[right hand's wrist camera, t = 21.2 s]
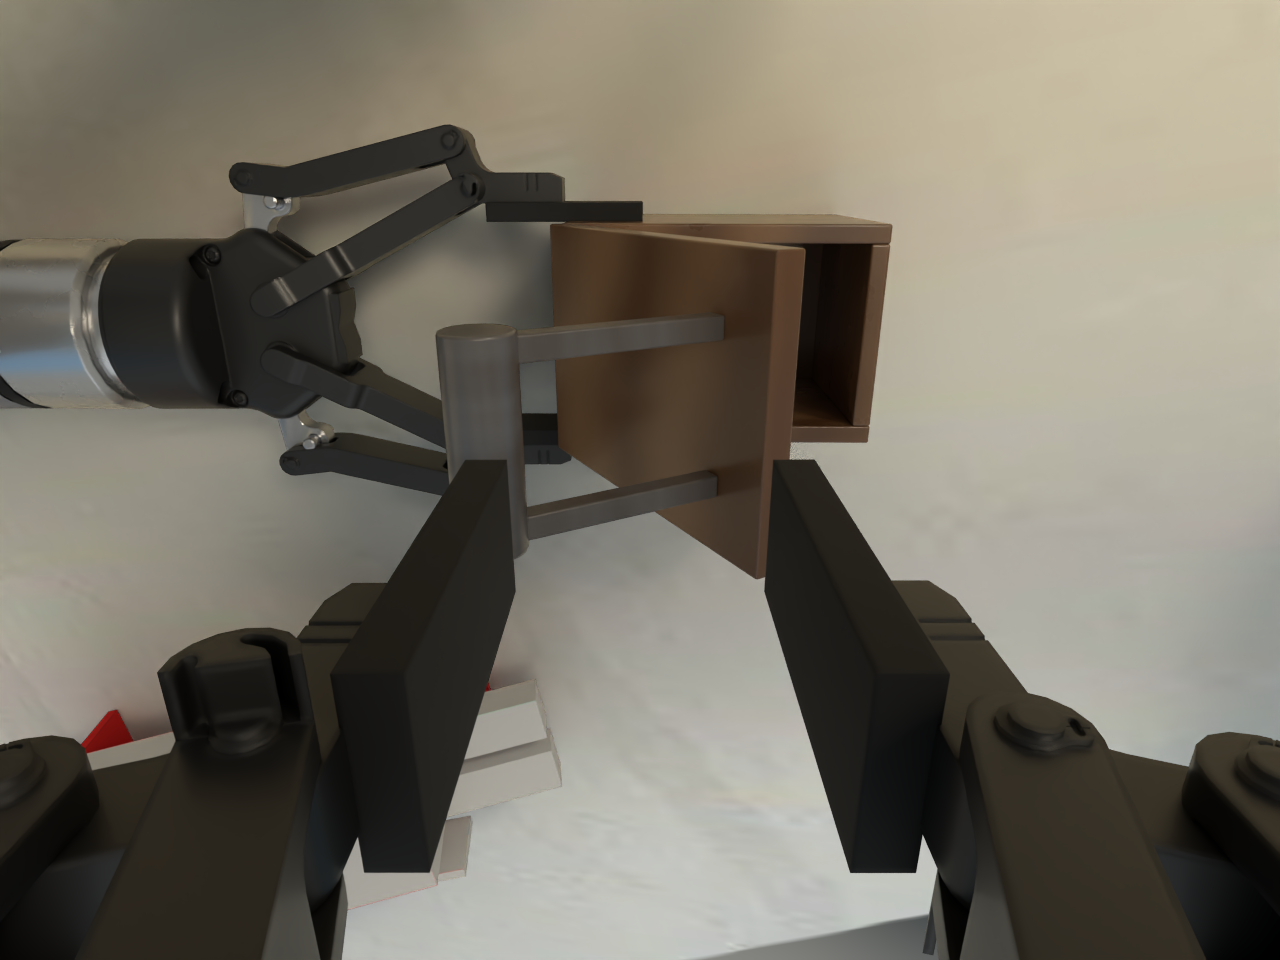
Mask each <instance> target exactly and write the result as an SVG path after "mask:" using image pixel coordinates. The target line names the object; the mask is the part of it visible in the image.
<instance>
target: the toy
mask: <svg viewBox="0 0 1280 960" xmlns="http://www.w3.org/2000/svg"><path fill="white" fill-rule="evenodd" d="M174 743H175V738H174V734H173V731H172V732H168V733H165V734H161V735H157V736H153V737H149V738H145V739H141V740H137V741H133V739H132V737H131V735H130V733H129V732H128V730H127V728H126V726H125V724H124V722H123V721H122V719H121V717H120V715H119V713H118V711H117V710H114V711H110V712H108V713H107V714H106V715H105V716H104V718H103V719H102V720H101V721H100V722H99V724H98V725H97V726H96V727H95V728H94V730H93V731H92V732H91V733H90V734H89V736H88V737H87V738H86V739H85V740H84V742H83V743H82V744H81V745H82V746H83V747H84V748H85V750H86V753H87V756H88V759H89V762H90V765H91V768H92V770H96V769H100V768H105V767H110V766H115V765H120V764H124V763H129V762H134V761H139V760H143V759H148V758H153V757H157V756H160V755H164V754H168V753H170V752H171V750H172V747H173V745H174ZM561 786H562V779H561V764H560V759H559V756H558V753H557V749H556V746H555V743H554V740H553V736H552V733H551V730H550V728H548V729H547V723H546V713H545V710H544V706H543V703H542V700H541V696H540V693H539V690H538V687H537V683H536V680H535V679H533V680H529V681H525V682H522V683H518V684H514V685H510V686H506V687H502V688H498V689H495V690H491V689H490V686H489V683H487V687H486V690H485V693H484V697H483V700H482V703H481V706H480V710H479V713H478V716H477V719H476V723H475V726H474V729H473V733H472V736H471V739H470V742H469V746H468V749H467V752H466V755H465V759H464V762H463V765H462V769H461V772H460V775H459V778H458V782H457V785H456V788H455V792H454V795H453V798H452V801H451V805H450V808H449V811H448V814H447V817H450V816H454V815H457V814H461V813H465V812H469V811H472V810H476V809H480V808H483V807H487V806H491V805H494V804H498V803H502V802H506V801H509V800H513V799H517V798H520V797H524V796H528V795H532V794H535V793H539V792H543V791H546V790H550V789H554V788H558V787H561ZM472 823H473V822H472V818H471V816H466V817H461V818H455V819H450V820H446V821H445V824H444V828H443V831H442V834H441V837H440V841H439V844H438V847H437V851H436V854H435V857H434V860H433V864H432V867H431V870H430V873H364V870H363V864H362V858H361V852H360V846H359V841H358V838H357V840H356V842H355V845H354V847H353V849H352V852H351V854H350V856H349V859H348V861H347V863H346V866H345V868H344V870H343V875H344V880H345V885H346V892H347V899H348V909H347V910H349V909H353V908H357V907H360V906H364V905H368V904H371V903H375V902H378V901H382V900H386V899H389V898H393V897H397V896H400V895H404V894H407V893H411V892H415V891H418V890H422V889H426V888H429V887H433V886H437V885H438V882H439V881H444V880H449V879H455V878H460V877H465V876H466V870H467V862H468V854H469V847H470V839H471V831H472Z"/></svg>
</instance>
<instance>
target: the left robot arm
mask: <svg viewBox="0 0 1280 960" xmlns="http://www.w3.org/2000/svg"><path fill="white" fill-rule="evenodd" d="M442 164H446V166H447V168H448V170H449V173H450V175H451V178H452V180H450V181H448V182H447V183H445V184H443V185H441V186H440V187H438V188H436V189H434V190H433V191H431V192H429V193H427V194H426V195H424V196H422V197H420V198H419V199H417V200H415V201H414V202H412V203H410V204H408V205H407V206H405V207H403V208H401V209H400V210H398V211H396V212H394V213H393V214H391V215H389V216H387V217H386V218H384V219H382V220H380V221H379V222H377V223H375V224H374V225H372V226H370V227H368V228H367V229H365V230H363V231H361V232H360V233H358V234H356V235H354V236H353V237H351V238H349V239H347V240H346V241H344V242H342V243H340V244H339V245H337V246H335V247H332V248H330V249H328V250H326V251H324V252H322V253H320V254H319V255H317V256H315V255H313V254H312V253H310V252H309V251H307V250H306V249H304V248H303V247H302V246H300V245H299V244H297V243H296V242H294V241H293V240H291V239H290V238H288V237H287V236H285V235H284V234H282V233H281V232H279V231H277V224H278V222H279V220H280V219H281V218H282V217H284V216H289V215H293V214H295V213H296V212H297V211H298V210H299V208H300V197H314V196H322V195H327V194H331V193H335V192H339V191H343V190H347V189H350V188H354V187H358V186H362V185H366V184H370V183H373V182H377V181H381V180H385V179H389V178H392V177H396V176H400V175H404V174H408V173H412V172H415V171H419V170H423V169H427V168H431V167H434V166H438V165H442ZM229 179H230V183H231V184H232V186H233V187H234V188H235V189H236V190H237V191H239V192H241V193H242V195H243V210H244V226H245V229H243V230H240V231H238V232H237V233H236V234H234V235H233V236H231V237H229V238H226V239H137V240H133V241H131V242H126V241H124V240H121V239H24V240H7V241H0V408H90V409H141V408H145V407H149V406H152V407H156V408H163V409H235V408H250V409H255V410H258V411H261V412H263V413H265V414H267V415H269V416H271V417H274V418H278V421H279V425H280V428H281V431H282V435H283V438H284V442H285V445H286V448H287V451H286V452H285V453H284V454H283V455H282V456H281V457H280V460H279V461H280V466H281V468H282V470H283V471H285V472H286V473H287V474H290V475H304V474H313V473H322V472H335V473H340V474H344V475H349V476H354V477H358V478H363V479H367V480H372V481H377V482H381V483H386V484H391V485H395V486H400V487H405V488H409V489H414V490H419V491H423V492H428V493H433V494H437V495H442V496H443V494H444V493H445V491H446V489H447V488H448V486H449V474H448V464H447V453H442V452H438V451H433V450H428V449H424V448H419V447H415V446H410V445H406V444H401V443H397V442H392V441H388V440H383V439H378V438H374V437H369V436H365V435H360V434H354V433H334V429H333V427H332V426H331V425H329V424H326V423H322V422H316V421H314V420H312V419H311V418H310V417H309V416H308V415H307V413H306V410H305V409H307V408H308V407H309V406H311V405H312V404H313V403H315V402H316V401H317V400H318V399H320V398H321V397H325V398H327V399H329V400H331V401H333V402H335V403H338V404H340V405H342V406H344V407H347V408H355V409H361V410H363V411H365V412H367V413H370V414H372V415H374V416H376V417H378V418H380V419H383V420H385V421H387V422H389V423H391V424H393V425H395V426H398V427H400V428H402V429H404V430H406V431H408V432H411V433H413V434H415V435H417V436H419V437H421V438H424V439H426V440H428V441H430V442H432V443H434V444H437V445H439V446H441V447H443V448H445V449H446V442H445V432H444V421H443V410H442V401H441V400H439V399H437V398H435V397H433V396H431V395H429V394H427V393H424V392H422V391H420V390H418V389H416V388H414V387H412V386H410V385H408V384H405V383H403V382H401V381H399V380H397V379H395V378H393V377H391V376H389V375H387V374H385V373H384V372H383V371H382V369H380V368H379V367H377V366H376V365H373V364H371V363H369V362H367V361H365V360H363V359H361V358H359V357H360V356H361V355H363V354H362V346H361V339H360V336H359V334H358V331H357V329H356V326H355V324H354V317H355V309H356V300H355V292H354V288H349V285H348V283H347V282H346V281H347V280H349V279H351V278H352V277H354V276H356V275H358V274H359V273H361V272H363V271H365V270H366V269H368V268H370V267H371V266H372V265H374V264H376V263H377V262H379V261H381V260H383V259H384V258H386V257H388V256H390V255H392V254H393V253H395V252H397V251H399V250H400V249H402V248H404V247H406V246H407V245H409V244H411V243H413V242H415V241H416V240H418V239H420V238H422V237H423V236H425V235H427V234H429V233H430V232H432V231H434V230H436V229H438V228H439V227H441V226H443V225H445V224H446V223H448V222H450V221H452V220H453V219H455V218H457V217H459V216H461V215H462V214H464V213H466V212H468V211H469V210H471V209H473V208H475V207H476V206H478V205H480V204H482V203H485V204H486V219H487V222H567V221H643V202H642V201H565V178H563V177H561V176H558V175H556V174H554V173H495V172H492V171H490V170H489V169H487V168H486V167H485V166H484V165H483V163H482V161H481V159H480V156H479V154H478V152H477V149H476V147H475V140H474V137H473V135H472V134H471V133H470V132H469V131H467V130H465V129H462V128H459V127H456V126H453V125H442V126H438V127H435V128H431V129H427V130H423V131H420V132H416V133H412V134H408V135H405V136H401V137H397V138H393V139H389V140H386V141H382V142H378V143H374V144H371V145H367V146H363V147H359V148H356V149H352V150H348V151H344V152H341V153H337V154H333V155H329V156H326V157H322V158H318V159H314V160H311V161H307V162H303V163H299V164H296V165H292V166H283V165H275V164H263V163H245V162H241V163H236V164H234V165H233V166H232V167H231V169H230V171H229ZM522 427H523V445H524V463H525V464H562V463H565V462H568V461H570V460H571V458H572V456H571V455H570V454H568V453H567V452H565V451H564V450H562V449H561V448H559V445H558V419H557V413H522Z"/></svg>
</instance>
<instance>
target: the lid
mask: <svg viewBox="0 0 1280 960" xmlns="http://www.w3.org/2000/svg"><path fill="white" fill-rule="evenodd" d="M550 234H551V260H552V287H553V313H554V327H547V328H536V329H525V330H516V329H515V328H513V327H510V326H506V325H500V324H464V325H456V326H450V327H446V328H443V329H440V330H438V331H437V332H436V347H437V357H438V368H439V379H440V389H441V400H442V410H443V421H444V432H445V442H446V453H447V464H448V474H449V485H450V483H451V482H452V480H453V478H454V477H455V475H456V474H457V472H458V470H459V469H460V467H461V466H462V464H463V463H464V461H465V460H507V469H508V484H509V499H510V514H511V529H512V544H513V560H514V559H516V558H518V557H520V556H521V555H523V554H524V553H525V552H526V551H527V549H528V546H529V540H533V539H537V538H541V537H546V536H550V535H554V534H559V533H563V532H567V531H572V530H576V529H580V528H585V527H589V526H593V525H597V524H602V523H606V522H610V521H615V520H619V519H623V518H628V517H632V516H636V515H641V514H645V513H649V512H654V511H655V512H656V513H658V514H659V515H661V516H662V517H664V518H665V519H667V520H668V521H670V522H671V523H673V524H674V525H676V526H677V527H679V528H680V529H682V530H683V531H684V532H686V533H687V534H689V535H690V536H692V537H693V538H695V539H696V540H698V541H699V542H701V543H702V544H704V545H705V546H707V547H708V548H710V549H711V550H713V551H714V552H716V553H717V554H719V555H720V556H722V557H723V558H725V559H726V560H728V561H729V562H731V563H732V564H734V565H735V566H737V567H738V568H740V569H741V570H743V571H744V572H746V573H747V574H749V575H750V576H752V577H753V578H755V579H760V578H764V577H765V575H766V559H767V544H768V529H769V514H770V499H771V484H772V469H773V460H789V458H790V445H791V432H792V420H793V407H794V394H795V381H796V368H797V355H798V342H799V329H800V316H801V303H802V290H803V277H804V264H805V249H804V248H798V247H788V246H779V245H769V244H760V243H750V242H740V241H731V240H721V239H712V238H702V237H693V236H683V235H674V234H664V233H655V232H645V231H635V230H626V229H616V228H607V227H597V226H588V225H578V224H551V225H550ZM548 360H555V366H556V393H557V419H558V445H559V448H561V449H562V450H564V451H565V452H567V453H568V454H570V455H571V456H573V457H574V458H576V459H577V460H579V461H580V462H582V463H583V464H585V465H586V466H588V467H589V468H591V469H592V470H594V471H595V472H596V473H598V474H599V475H601V476H602V477H604V478H605V479H607V480H608V481H610V482H611V483H613V484H614V485H616V486H617V487H619V488H616V489H611V490H606V491H602V492H597V493H592V494H587V495H583V496H578V497H573V498H568V499H564V500H559V501H554V502H549V503H544V504H540V505H535V506H530V507H527V499H526V481H525V463H524V445H523V427H522V408H521V390H520V372H519V364H522V363H531V362H540V361H548Z"/></svg>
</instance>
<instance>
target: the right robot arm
mask: <svg viewBox="0 0 1280 960" xmlns="http://www.w3.org/2000/svg"><path fill="white" fill-rule="evenodd" d="M515 592H516V590H515V575H514V560H513V544H512V529H511V514H510V499H509V484H508V469H507V460H465V461H464V463H463V464H462V466H461V467H460V469H459V470H458V472H457V474H456V475H455V477H454V478H453V480H452V482H451V483H450V485H449V486H448V488H447V489H446V491H445V493H444V494H443V496H442V497H441V499H440V500H439V502H438V504H437V505H436V507H435V508H434V510H433V512H432V513H431V515H430V516H429V518H428V519H427V521H426V523H425V524H424V526H423V527H422V529H421V531H420V532H419V534H418V535H417V537H416V538H415V540H414V542H413V543H412V545H411V546H410V548H409V549H408V551H407V553H406V554H405V556H404V557H403V559H402V561H401V562H400V564H399V565H398V567H397V568H396V570H395V572H394V573H393V575H392V576H391V578H390V580H389V581H388V583H351V584H350V585H348V586H347V587H345V588H344V589H342V590H341V591H339V592H337V593H336V594H334V595H333V596H331V597H330V598H328V599H327V600H325V601H324V602H323V604H322V605H321V606H320V608H319V609H318V610H317V612H316V613H315V614H314V616H313V617H312V618H311V619H310V621H309V626H305V627H304V629H303V630H302V631H301V633H300V634H299V635H298V637H297V638H296V637H294V636H293V635H292V634H291V633H289V632H286V631H282V630H278V629H273V628H245V629H240V630H235V631H230V632H225V633H221V634H217V635H214V636H212V637H209V638H207V639H204V640H202V641H199V642H196V643H194V644H192V645H190V646H188V647H187V648H185V649H184V650H182V651H180V652H179V653H177V654H176V655H174V656H172V657H171V658H170V659H169V660H168V661H167V662H166V663H165V664H164V665H163V667H162V668H161V669H160V670H159V671H158V672H157V674H158V678H159V682H160V685H161V689H162V693H163V697H164V700H165V704H166V708H167V711H168V715H169V719H170V723H171V726H172V730H173V734H174V738H175V743H174V745H173V747H172V750H171V752H170V753H168V754H164V755H160V756H157V757H153V758H148V759H143V760H139V761H134V762H129V763H124V764H120V765H115V766H110V767H105V768H100V769H96V770H92V768H91V765H90V762H89V759H88V756H87V753H86V750H85V748H84V747H83V746H82V745H81V744H79V743H78V742H77V741H76V740H74V739H73V738H66V737H59V736H43V737H35V738H27V739H21V740H17V741H12V742H9V743H8V744H2V745H0V960H342V952H343V943H344V935H345V926H346V918H347V909H348V899H347V892H346V885H345V880H344V875H343V870H344V868H345V866H346V863H347V861H348V859H349V856H350V854H351V852H352V849H353V847H354V845H355V842H356V840H357V838H358V841H359V846H360V852H361V858H362V864H363V870H364V873H430V870H431V867H432V864H433V860H434V857H435V854H436V851H437V847H438V844H439V841H440V837H441V834H442V831H443V828H444V824H445V821H446V818H447V814H448V811H449V808H450V805H451V801H452V798H453V795H454V792H455V788H456V785H457V782H458V778H459V775H460V772H461V769H462V765H463V762H464V759H465V755H466V752H467V749H468V746H469V742H470V739H471V736H472V733H473V729H474V726H475V723H476V719H477V716H478V713H479V710H480V706H481V703H482V700H483V697H484V693H485V690H486V687H487V683H488V680H489V677H490V674H491V670H492V667H493V664H494V660H495V657H496V654H497V651H498V647H499V644H500V641H501V638H502V634H503V631H504V628H505V624H506V621H507V618H508V615H509V611H510V608H511V605H512V601H513V598H514V595H515ZM764 592H765V595H766V598H767V601H768V605H769V608H770V611H771V615H772V618H773V621H774V624H775V628H776V631H777V634H778V638H779V641H780V644H781V647H782V651H783V654H784V657H785V660H786V664H787V667H788V670H789V674H790V677H791V680H792V683H793V687H794V690H795V693H796V697H797V700H798V703H799V706H800V710H801V713H802V716H803V719H804V723H805V726H806V729H807V733H808V736H809V739H810V742H811V746H812V749H813V752H814V755H815V759H816V762H817V765H818V769H819V772H820V775H821V778H822V782H823V785H824V788H825V792H826V795H827V798H828V801H829V805H830V808H831V811H832V814H833V818H834V821H835V824H836V828H837V831H838V834H839V837H840V841H841V844H842V847H843V851H844V854H845V857H846V860H847V864H848V867H849V870H850V873H916V870H917V864H918V858H919V852H920V846H921V841H922V835H923V836H924V838H925V841H926V843H927V845H928V848H929V850H930V852H931V855H932V857H933V859H934V861H935V864H936V866H937V868H938V869H937V875H936V880H935V885H934V891H933V896H932V901H931V907H930V912H929V918H928V923H927V928H926V934H925V940H924V947H923V953H925V954H929V955H933V954H934V949H935V943H936V942H937V950H938V958H939V960H1280V741H1278V740H1276V741H1275V740H1272V739H1271V738H1267V737H1262V736H1258V735H1250V734H1242V733H1234V732H1225V733H1219V734H1212V735H1207V736H1206V737H1205V738H1204V739H1202V740H1201V741H1200V742H1199V743H1197V744H1196V746H1195V750H1194V753H1193V756H1192V759H1191V762H1190V765H1189V767H1187V766H1182V765H1177V764H1172V763H1168V762H1163V761H1158V760H1153V759H1148V758H1143V757H1139V756H1134V755H1129V754H1125V753H1121V752H1118V751H1114V750H1110V749H1109V748H1108V746H1107V744H1106V742H1105V740H1104V738H1103V737H1102V736H1101V734H1100V733H1099V732H1098V731H1097V729H1096V728H1095V727H1094V725H1093V724H1092V723H1091V722H1089V721H1088V720H1087V719H1085V718H1084V717H1082V716H1081V715H1080V714H1078V713H1077V712H1076V711H1074V710H1073V709H1071V708H1069V707H1067V706H1064V705H1062V704H1060V703H1058V702H1056V701H1053V700H1051V699H1049V698H1046V697H1042V696H1038V695H1034V694H1030V693H1028V692H1027V691H1026V690H1025V688H1024V687H1023V686H1022V684H1021V683H1020V682H1019V681H1018V679H1017V678H1016V677H1015V675H1014V674H1013V673H1012V671H1011V670H1010V669H1009V667H1008V666H1007V665H1006V663H1005V662H1004V661H1003V660H1002V658H1001V657H1000V656H999V654H998V653H997V652H996V650H995V649H994V648H993V646H992V645H991V644H990V642H989V641H988V640H985V636H984V635H983V633H982V632H981V631H980V629H979V628H978V627H977V625H976V624H975V623H972V621H971V618H970V616H969V615H968V614H967V612H966V611H965V610H964V608H963V607H962V606H961V604H960V603H959V602H958V600H957V599H956V598H955V597H953V596H952V595H950V594H948V593H947V592H945V591H944V590H942V589H941V588H939V587H938V586H936V585H934V584H933V583H931V582H930V581H891V580H890V578H889V576H888V575H887V573H886V572H885V570H884V568H883V567H882V565H881V564H880V562H879V561H878V559H877V557H876V556H875V554H874V553H873V551H872V549H871V548H870V546H869V545H868V543H867V542H866V540H865V538H864V537H863V535H862V534H861V532H860V531H859V529H858V527H857V526H856V524H855V523H854V521H853V519H852V518H851V516H850V515H849V513H848V512H847V510H846V508H845V507H844V505H843V504H842V502H841V500H840V499H839V497H838V496H837V494H836V493H835V491H834V489H833V488H832V486H831V485H830V483H829V482H828V480H827V478H826V477H825V475H824V474H823V472H822V470H821V469H820V467H819V466H818V464H817V463H816V461H815V460H773V469H772V484H771V499H770V514H769V529H768V544H767V559H766V575H765V590H764Z"/></svg>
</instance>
